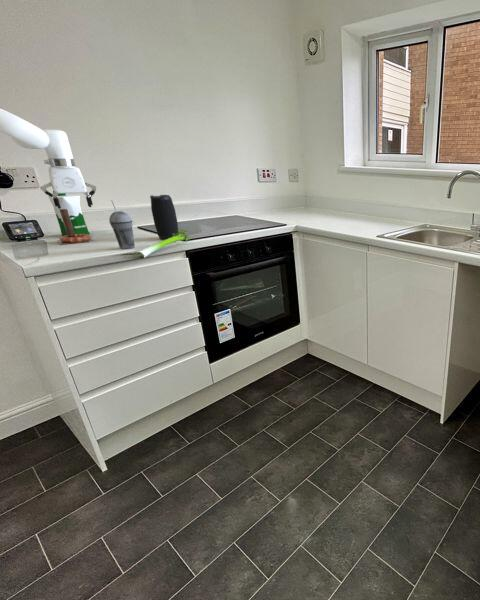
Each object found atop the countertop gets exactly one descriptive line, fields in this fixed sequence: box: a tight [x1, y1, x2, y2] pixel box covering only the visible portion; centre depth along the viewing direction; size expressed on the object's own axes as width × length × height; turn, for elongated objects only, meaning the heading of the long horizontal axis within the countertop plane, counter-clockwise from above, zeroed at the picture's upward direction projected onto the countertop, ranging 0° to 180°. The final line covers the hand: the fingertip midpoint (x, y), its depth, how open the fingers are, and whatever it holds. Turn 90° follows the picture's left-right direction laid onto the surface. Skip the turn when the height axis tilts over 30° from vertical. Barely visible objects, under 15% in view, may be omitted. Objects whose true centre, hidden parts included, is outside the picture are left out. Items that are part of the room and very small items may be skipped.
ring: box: [58, 234, 92, 242], centre depth 149 cm, size 10×10×2 cm
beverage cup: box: [108, 199, 136, 251], centre depth 138 cm, size 7×7×20 cm
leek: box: [133, 229, 191, 259], centre depth 146 cm, size 6×7×30 cm
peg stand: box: [57, 209, 89, 246], centre depth 146 cm, size 9×9×14 cm
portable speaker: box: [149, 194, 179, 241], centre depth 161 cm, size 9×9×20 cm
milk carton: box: [47, 190, 91, 236], centre depth 160 cm, size 9×9×20 cm
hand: (75, 207), depth 146 cm, fingers open, 9 cm apart
